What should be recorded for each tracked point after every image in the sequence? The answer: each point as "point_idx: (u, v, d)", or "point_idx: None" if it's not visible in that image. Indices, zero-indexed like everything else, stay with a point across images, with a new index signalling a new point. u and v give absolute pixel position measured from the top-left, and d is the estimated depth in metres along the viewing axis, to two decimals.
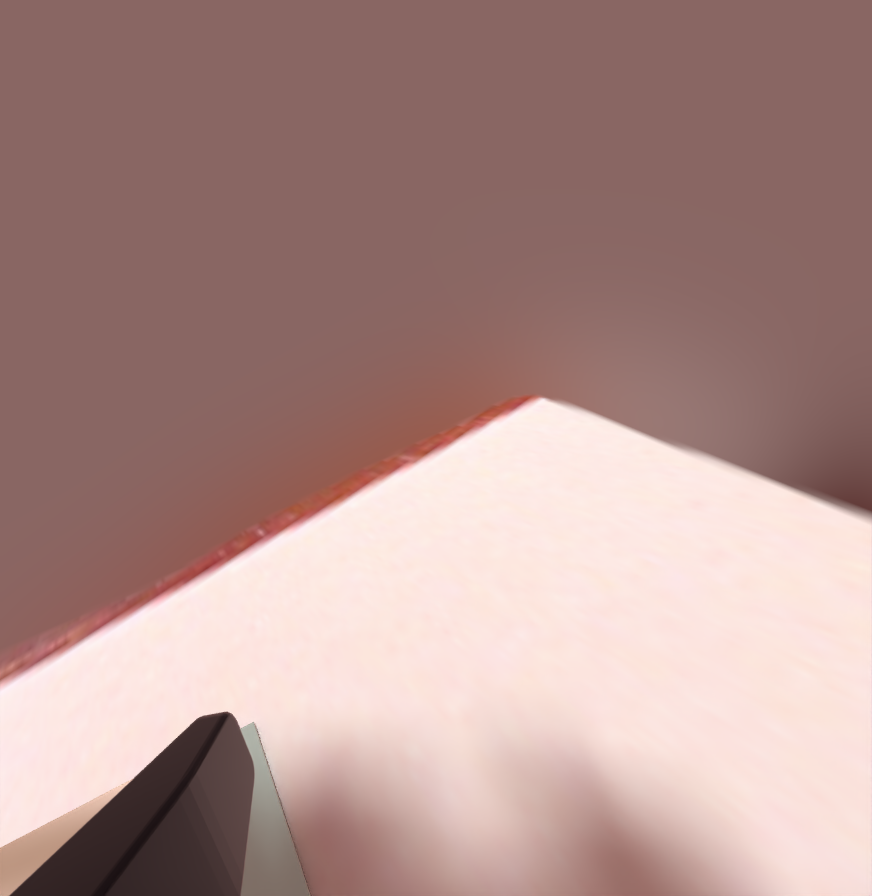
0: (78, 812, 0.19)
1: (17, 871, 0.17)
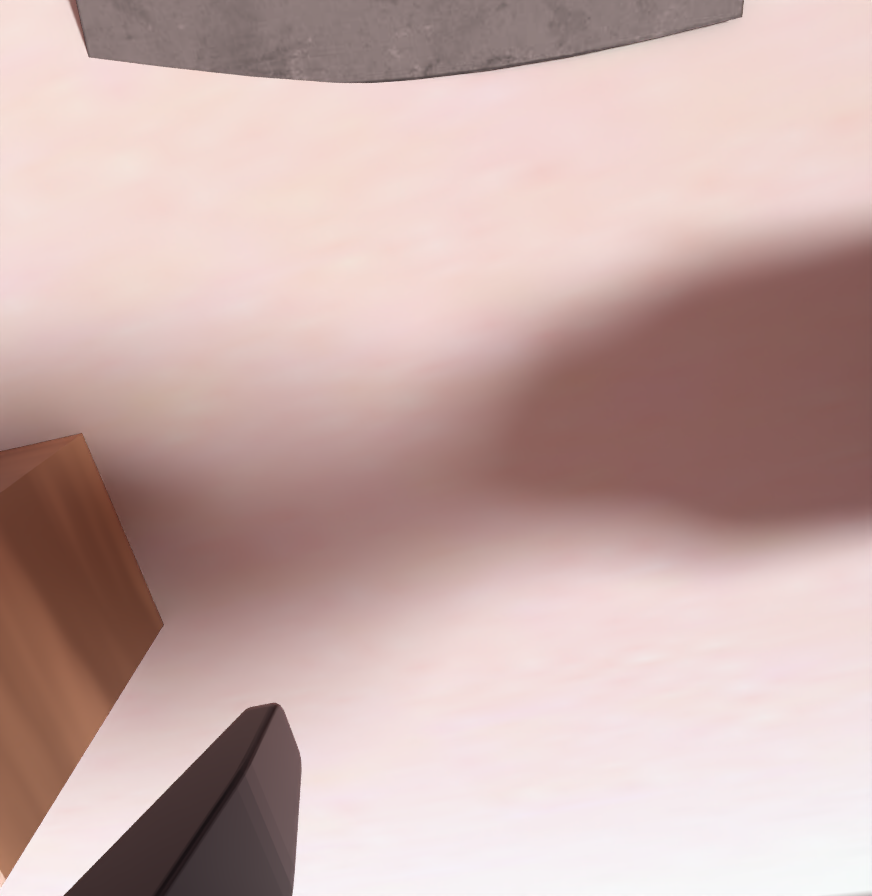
0: None
1: None
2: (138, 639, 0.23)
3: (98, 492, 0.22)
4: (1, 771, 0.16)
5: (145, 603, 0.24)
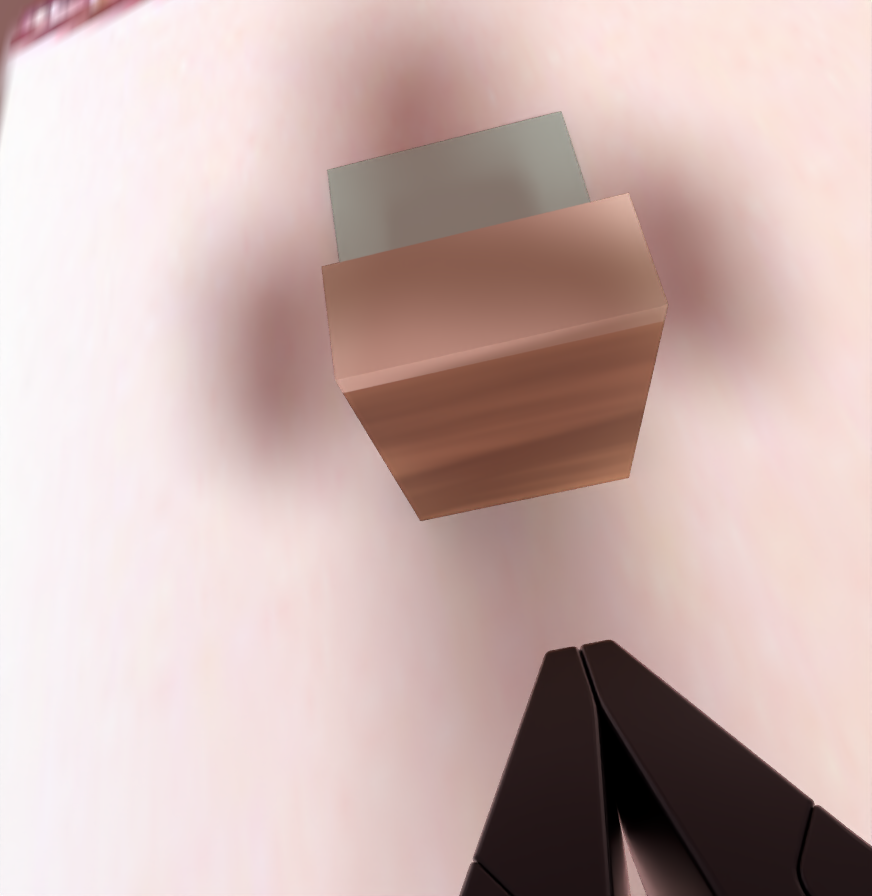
0: (529, 224, 0.16)
1: (475, 273, 0.16)
2: (429, 502, 0.23)
3: (574, 484, 0.24)
4: (434, 400, 0.17)
5: (452, 509, 0.24)
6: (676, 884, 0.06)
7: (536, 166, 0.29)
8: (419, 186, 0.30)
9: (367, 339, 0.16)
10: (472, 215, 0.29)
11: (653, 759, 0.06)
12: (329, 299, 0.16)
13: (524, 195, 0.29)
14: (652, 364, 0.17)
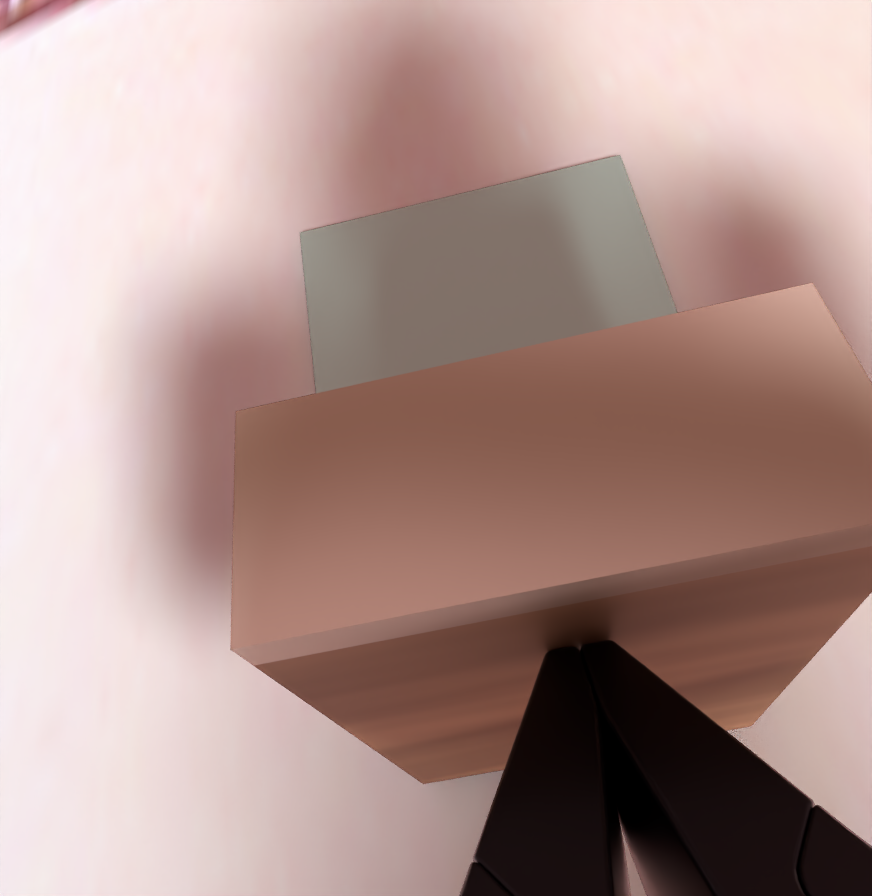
0: (624, 339, 0.08)
1: (521, 429, 0.08)
2: (436, 768, 0.14)
3: None
4: (439, 664, 0.09)
5: (473, 771, 0.15)
6: (676, 884, 0.06)
7: (588, 232, 0.21)
8: (425, 259, 0.21)
9: (304, 561, 0.08)
10: (499, 302, 0.20)
11: (653, 759, 0.06)
12: (241, 474, 0.08)
13: (572, 274, 0.20)
14: (859, 601, 0.09)
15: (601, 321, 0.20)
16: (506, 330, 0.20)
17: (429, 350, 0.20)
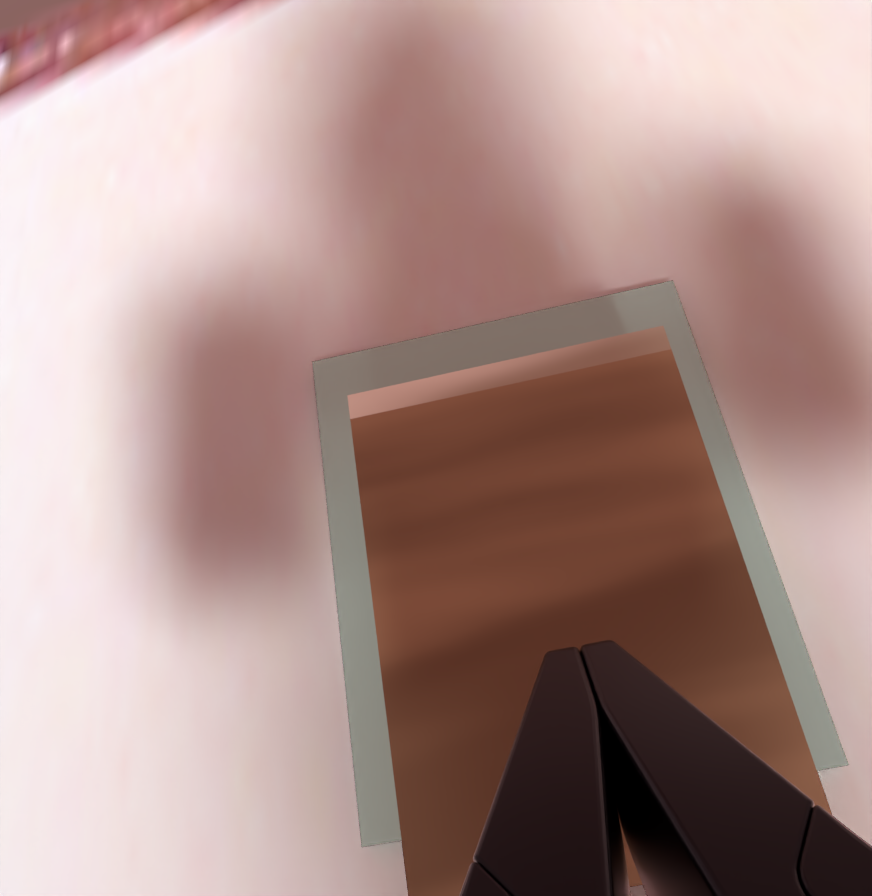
0: None
1: None
2: (430, 809, 0.13)
3: None
4: (441, 452, 0.15)
5: None
6: (676, 884, 0.06)
7: None
8: None
9: None
10: None
11: (653, 759, 0.06)
12: None
13: None
14: (695, 427, 0.15)
15: None
16: None
17: None
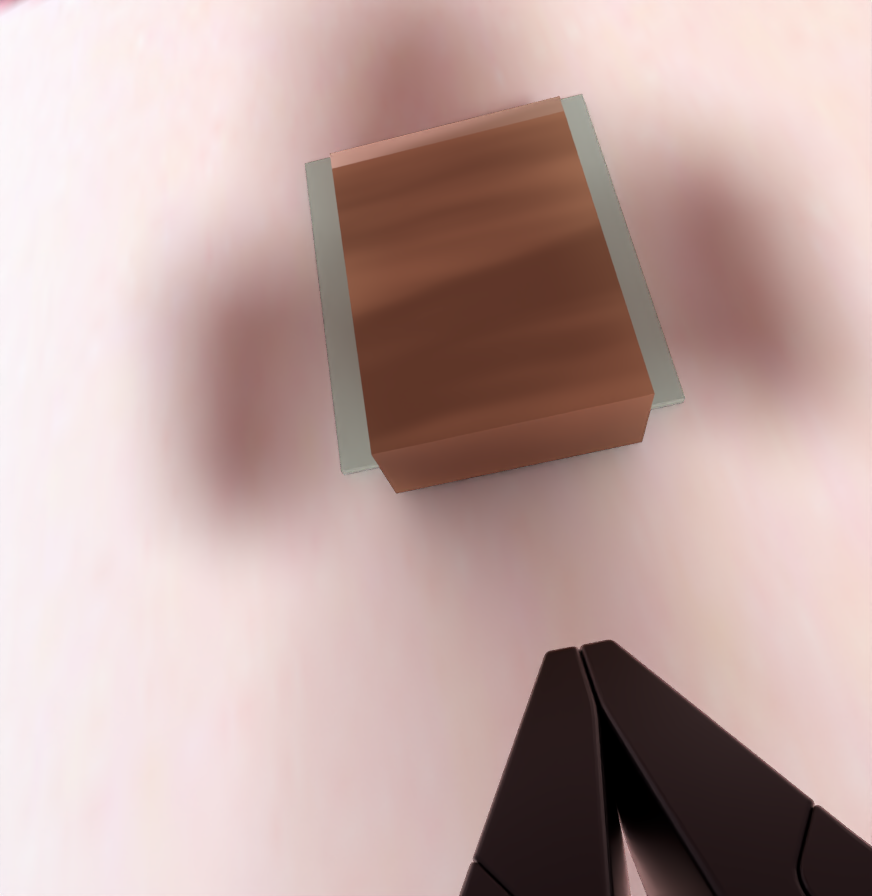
0: None
1: None
2: (385, 393, 0.19)
3: (575, 394, 0.18)
4: (397, 185, 0.21)
5: (414, 426, 0.18)
6: (676, 884, 0.06)
7: None
8: None
9: None
10: None
11: (653, 759, 0.06)
12: None
13: None
14: (577, 158, 0.20)
15: None
16: None
17: None
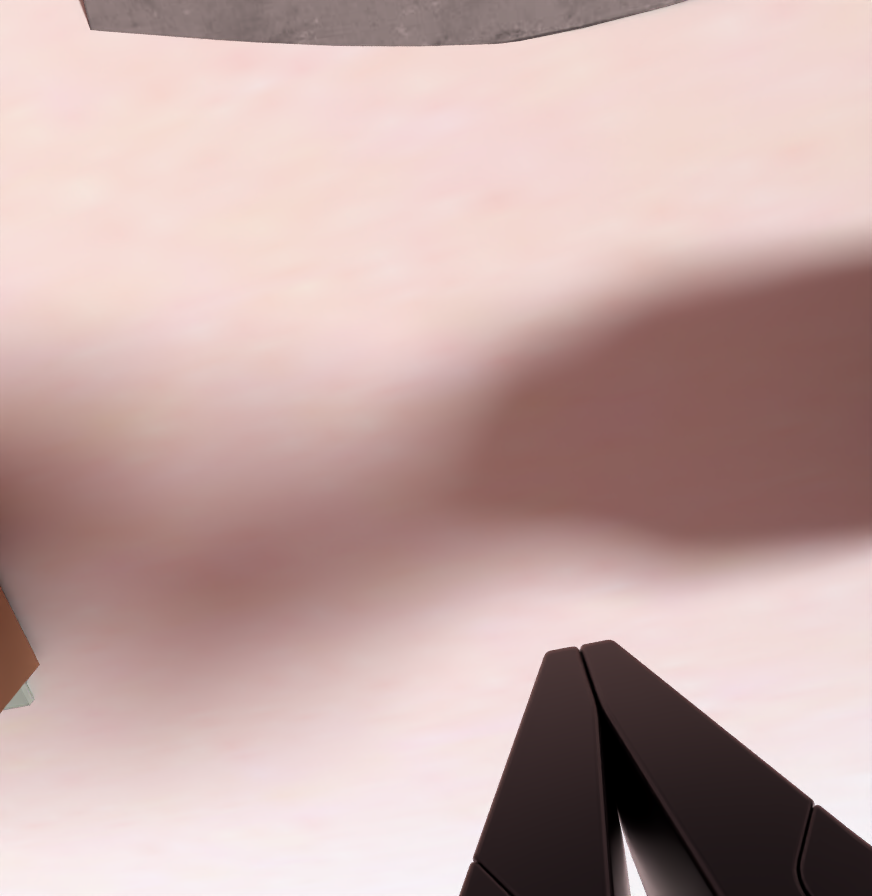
0: None
1: None
2: None
3: None
4: None
5: None
6: (676, 884, 0.06)
7: None
8: None
9: None
10: None
11: (653, 759, 0.06)
12: None
13: None
14: None
15: None
16: None
17: None
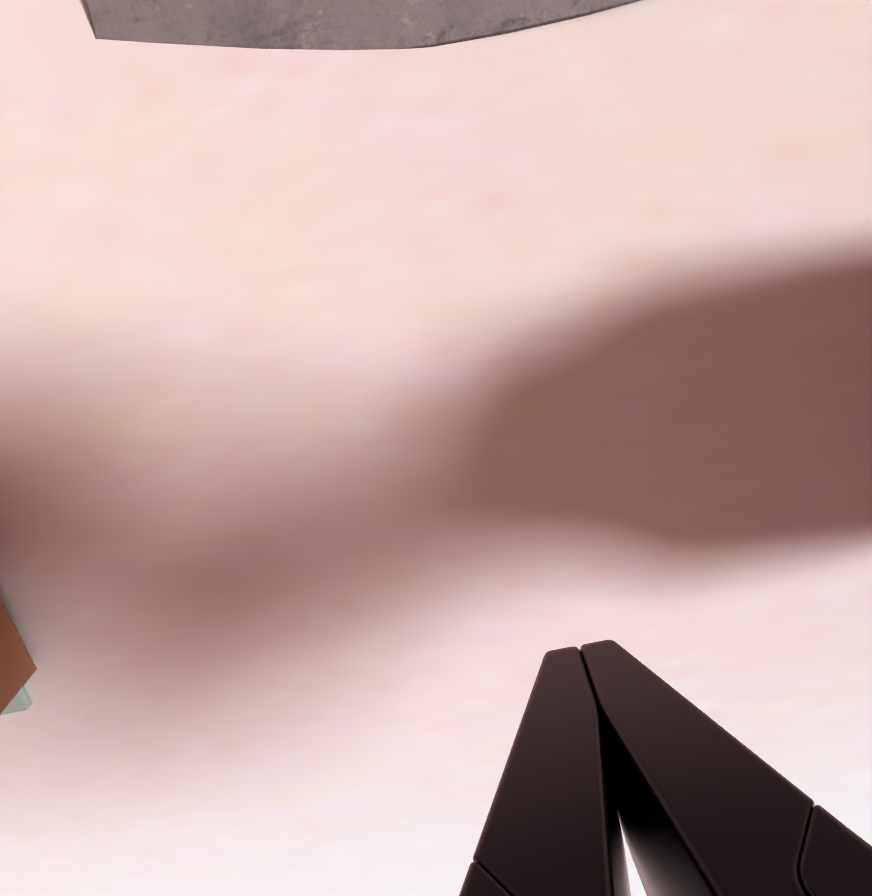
0: None
1: None
2: None
3: None
4: None
5: None
6: (676, 884, 0.06)
7: None
8: None
9: None
10: None
11: (653, 759, 0.06)
12: None
13: None
14: None
15: None
16: None
17: None
